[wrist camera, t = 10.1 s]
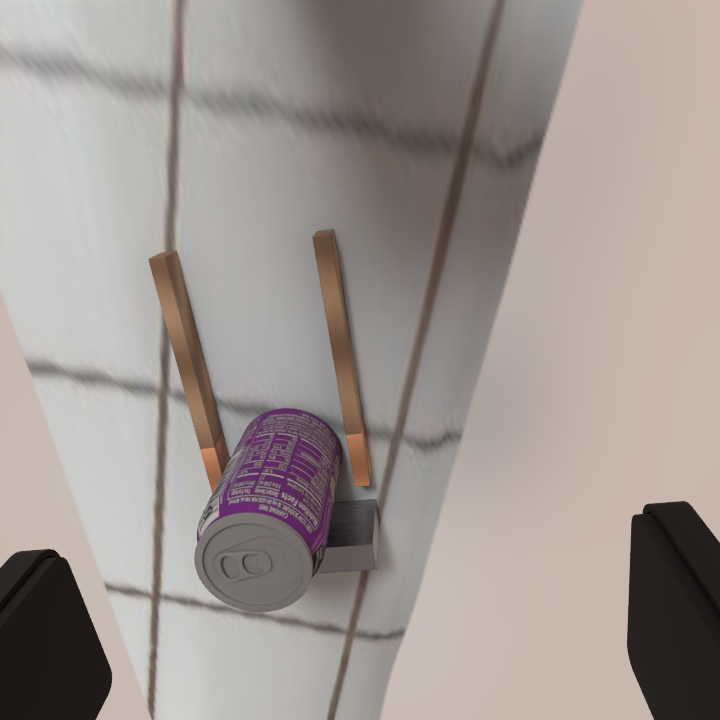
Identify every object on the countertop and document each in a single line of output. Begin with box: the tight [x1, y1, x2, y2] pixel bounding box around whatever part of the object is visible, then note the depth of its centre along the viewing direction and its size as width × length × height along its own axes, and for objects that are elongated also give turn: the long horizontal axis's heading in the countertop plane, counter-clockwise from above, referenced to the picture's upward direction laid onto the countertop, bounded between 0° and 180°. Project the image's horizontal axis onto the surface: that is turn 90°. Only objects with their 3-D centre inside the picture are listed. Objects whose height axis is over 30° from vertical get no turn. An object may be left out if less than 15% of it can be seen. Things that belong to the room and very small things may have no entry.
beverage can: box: [195, 408, 342, 612], centre depth 36 cm, size 7×7×12 cm
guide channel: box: [149, 230, 379, 573], centre depth 37 cm, size 22×11×5 cm, turn 8°
